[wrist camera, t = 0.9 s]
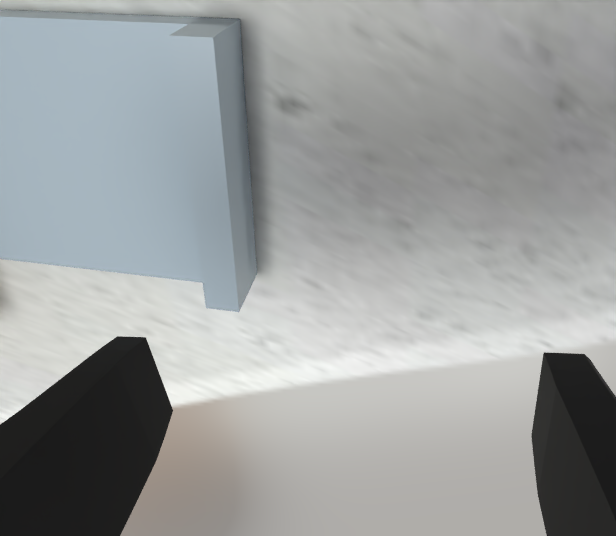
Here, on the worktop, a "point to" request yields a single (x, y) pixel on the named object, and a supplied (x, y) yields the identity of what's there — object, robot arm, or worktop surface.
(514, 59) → the worktop surface
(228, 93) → the light blue lipped plate
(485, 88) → the worktop surface
